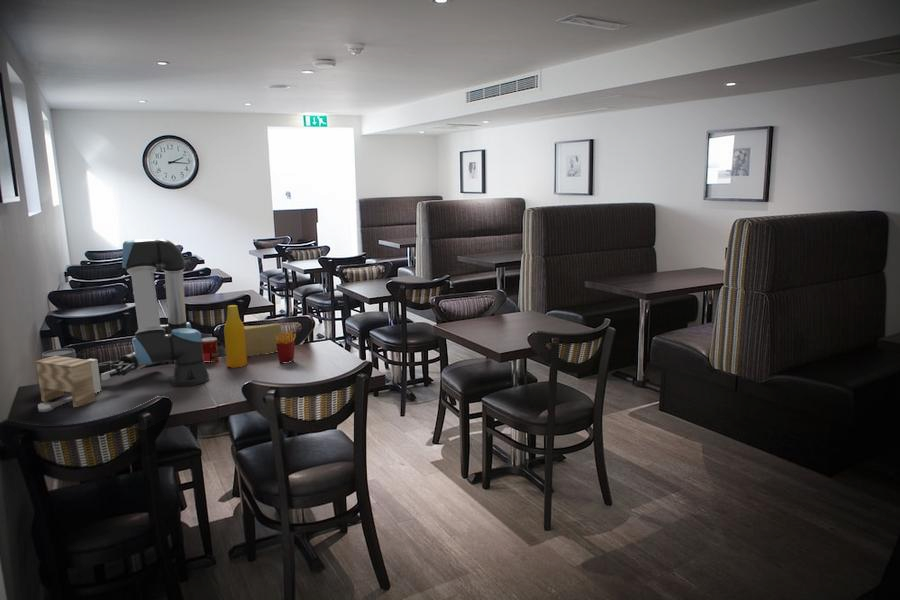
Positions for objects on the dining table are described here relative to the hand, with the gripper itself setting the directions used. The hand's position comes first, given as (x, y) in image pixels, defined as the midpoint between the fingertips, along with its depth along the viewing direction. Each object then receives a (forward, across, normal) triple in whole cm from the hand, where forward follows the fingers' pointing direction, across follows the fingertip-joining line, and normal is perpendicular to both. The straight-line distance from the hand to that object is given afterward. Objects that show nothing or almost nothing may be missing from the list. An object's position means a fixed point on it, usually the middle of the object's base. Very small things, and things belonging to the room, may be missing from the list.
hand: (89, 375), depth 251 cm
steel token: (+20, 0, -8) cm, 21 cm away
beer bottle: (-52, -31, -8) cm, 61 cm away
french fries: (-66, -49, -8) cm, 83 cm away
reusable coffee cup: (-3, +21, -8) cm, 23 cm away
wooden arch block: (+7, 0, -8) cm, 10 cm away
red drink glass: (-54, -13, -8) cm, 57 cm away
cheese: (-73, -29, -8) cm, 79 cm away
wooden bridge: (+10, 0, -8) cm, 13 cm away
